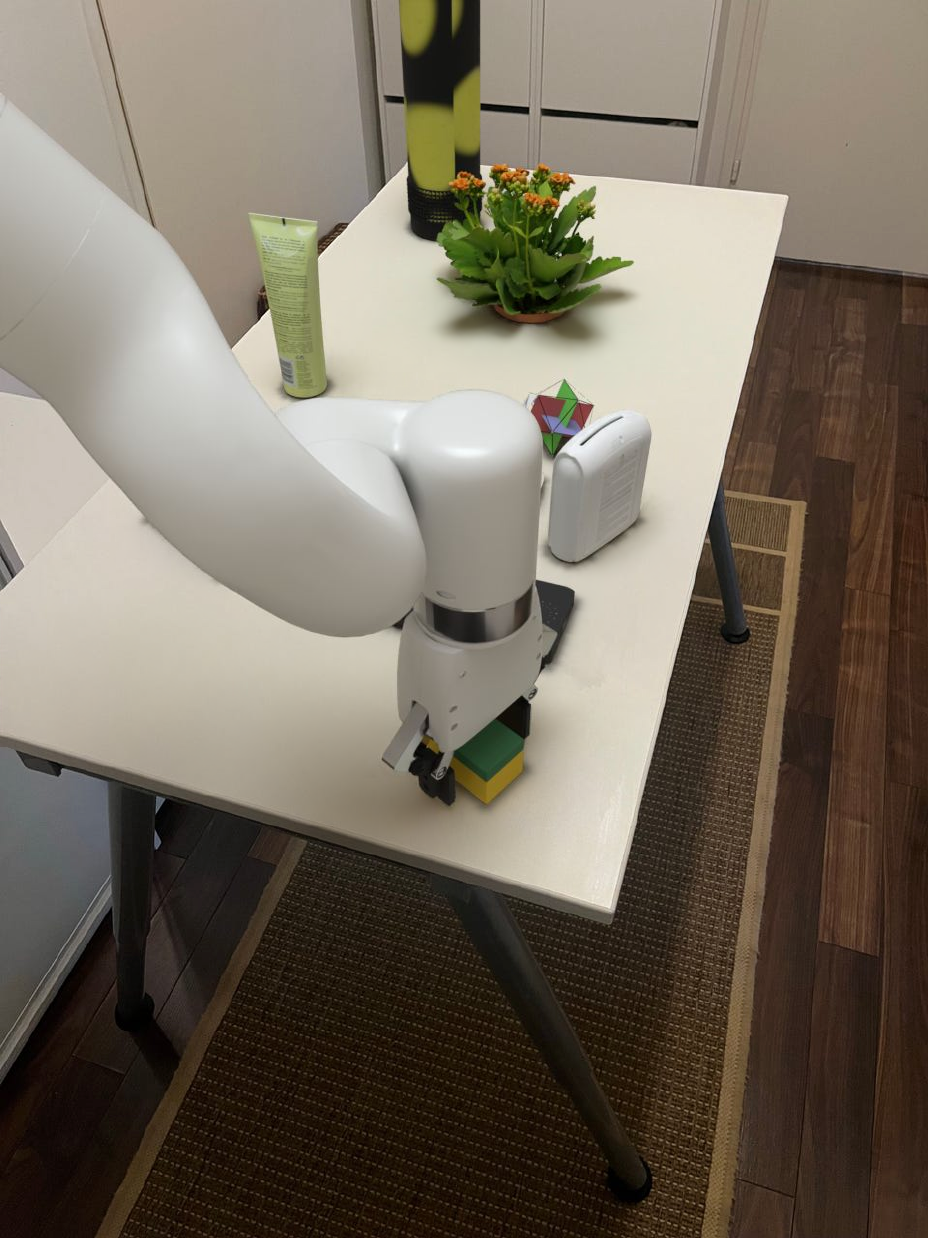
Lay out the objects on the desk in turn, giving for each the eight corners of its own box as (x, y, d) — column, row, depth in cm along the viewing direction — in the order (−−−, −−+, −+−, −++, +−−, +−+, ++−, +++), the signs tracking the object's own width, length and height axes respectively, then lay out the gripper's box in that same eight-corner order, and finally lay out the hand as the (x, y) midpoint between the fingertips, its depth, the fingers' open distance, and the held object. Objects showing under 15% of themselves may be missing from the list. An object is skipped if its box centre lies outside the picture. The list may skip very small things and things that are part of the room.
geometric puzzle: (592, 400, 100) (553, 353, 94) (617, 435, 95) (578, 388, 90) (540, 442, 102) (499, 399, 96) (562, 479, 97) (520, 436, 92)
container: (491, 216, 139) (493, -23, 117) (469, 246, 132) (467, -2, 110) (423, 208, 141) (413, -27, 120) (398, 237, 134) (382, -8, 113)
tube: (324, 370, 109) (300, 201, 95) (339, 391, 106) (317, 219, 92) (277, 382, 107) (247, 212, 93) (291, 404, 104) (262, 231, 90)
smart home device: (550, 653, 75) (327, 597, 80) (549, 667, 76) (330, 611, 81) (577, 586, 80) (366, 537, 85) (575, 600, 82) (368, 551, 87)
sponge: (522, 771, 69) (524, 739, 66) (486, 805, 67) (486, 773, 64) (464, 727, 72) (464, 695, 69) (428, 758, 70) (426, 726, 67)
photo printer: (610, 499, 91) (624, 390, 83) (644, 519, 89) (662, 409, 80) (539, 548, 86) (546, 438, 78) (574, 571, 84) (585, 459, 75)
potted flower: (618, 263, 127) (633, 126, 115) (647, 352, 111) (668, 204, 98) (437, 268, 127) (432, 132, 114) (439, 358, 110) (433, 210, 98)
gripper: (521, 497, 62) (514, 669, 75) (324, 634, 54) (354, 802, 67) (610, 547, 59) (587, 719, 72) (413, 703, 50) (427, 867, 63)
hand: (475, 758), depth 69 cm, fingers open, 7 cm apart
